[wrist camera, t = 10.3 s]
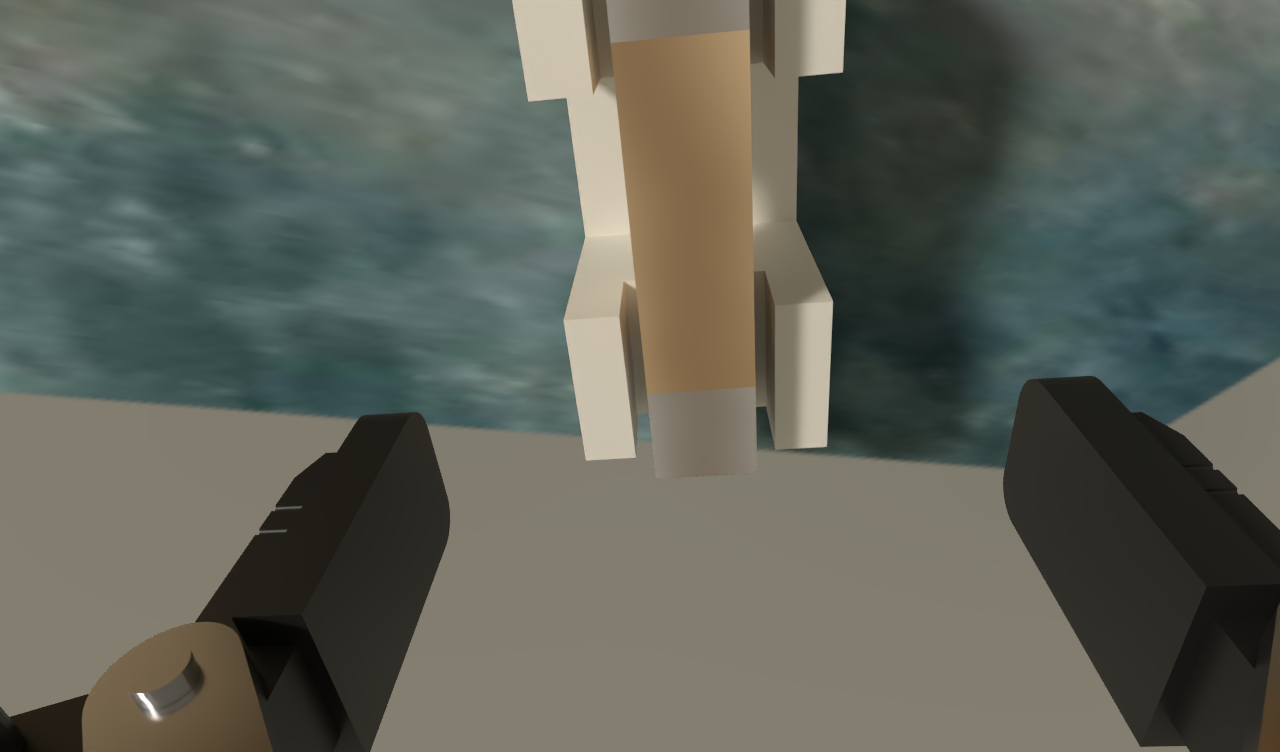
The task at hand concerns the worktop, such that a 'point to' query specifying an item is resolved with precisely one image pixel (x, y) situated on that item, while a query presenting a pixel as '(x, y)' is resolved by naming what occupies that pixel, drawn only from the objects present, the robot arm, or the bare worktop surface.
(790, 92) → the white notched block
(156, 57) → the worktop surface
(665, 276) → the rail
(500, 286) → the worktop surface
